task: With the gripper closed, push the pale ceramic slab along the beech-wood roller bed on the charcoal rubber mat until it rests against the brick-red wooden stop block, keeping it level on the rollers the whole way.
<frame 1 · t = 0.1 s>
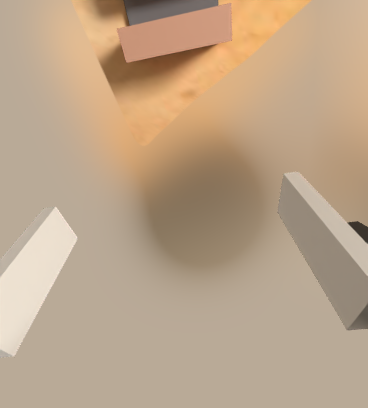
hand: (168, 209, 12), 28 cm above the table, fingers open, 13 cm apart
stop block: (176, 38, 29), resting on roller bed
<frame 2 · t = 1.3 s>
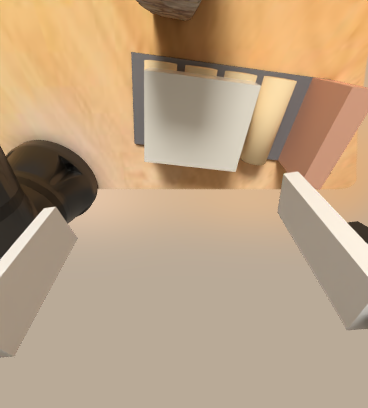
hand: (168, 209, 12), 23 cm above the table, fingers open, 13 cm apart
roller bed: (224, 114, 31), on the table
slab: (195, 118, 27), point 5 cm above the table, touching roller bed
stop block: (301, 123, 31), resting on roller bed
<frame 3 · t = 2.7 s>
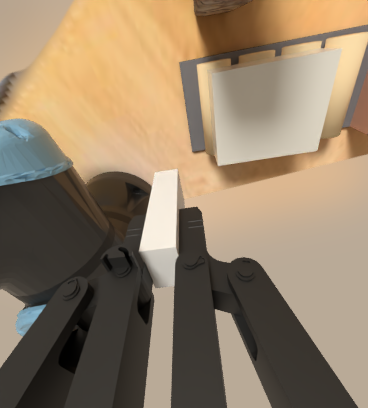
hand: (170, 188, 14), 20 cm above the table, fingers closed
roller bed: (281, 94, 29), on the table
slab: (258, 107, 25), point 5 cm above the table, touching roller bed
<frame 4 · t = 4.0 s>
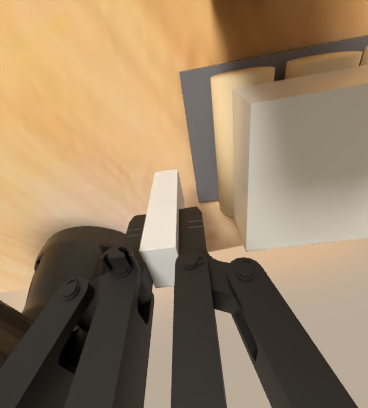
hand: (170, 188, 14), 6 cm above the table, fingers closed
roller bed: (344, 122, 18), on the table
slab: (318, 152, 15), point 5 cm above the table, touching roller bed
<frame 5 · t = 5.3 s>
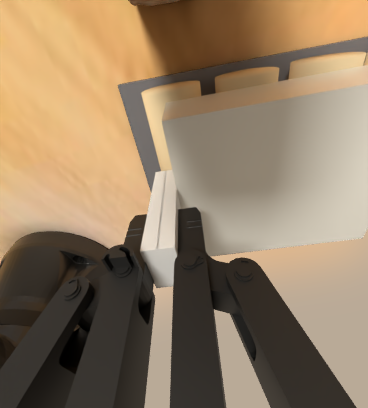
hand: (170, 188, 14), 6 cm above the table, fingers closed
roller bed: (287, 132, 18), on the table
slab: (261, 161, 15), point 5 cm above the table, touching gripper, roller bed
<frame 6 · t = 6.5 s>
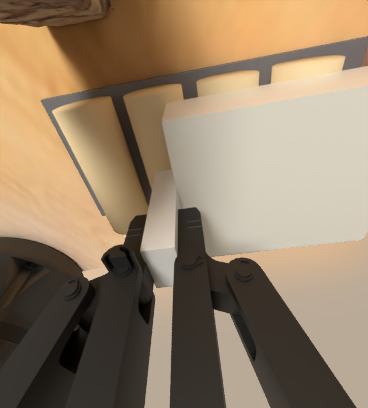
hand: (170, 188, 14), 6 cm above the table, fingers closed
roller bed: (218, 143, 19), on the table
slab: (261, 162, 15), point 5 cm above the table, touching gripper, roller bed
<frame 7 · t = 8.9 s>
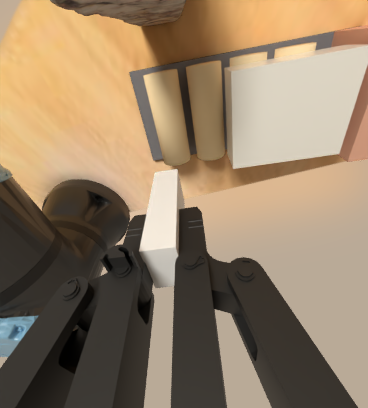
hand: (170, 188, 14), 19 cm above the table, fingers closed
roller bed: (238, 104, 28), on the table
slab: (277, 108, 24), point 5 cm above the table, touching roller bed
stop block: (331, 88, 27), resting on roller bed
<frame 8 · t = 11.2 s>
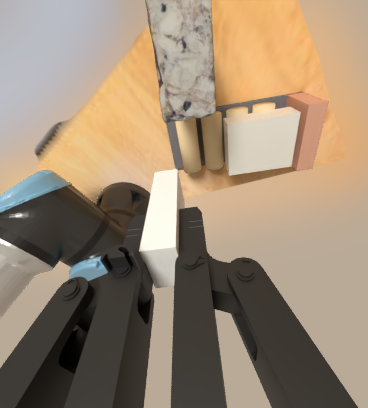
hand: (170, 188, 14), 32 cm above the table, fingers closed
roller bed: (232, 134, 44), on the table
slab: (255, 139, 40), point 5 cm above the table, touching roller bed
stop block: (289, 124, 43), resting on roller bed
stone block: (180, 50, 36), on the table
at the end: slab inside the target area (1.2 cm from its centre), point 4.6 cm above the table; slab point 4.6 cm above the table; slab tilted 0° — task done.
